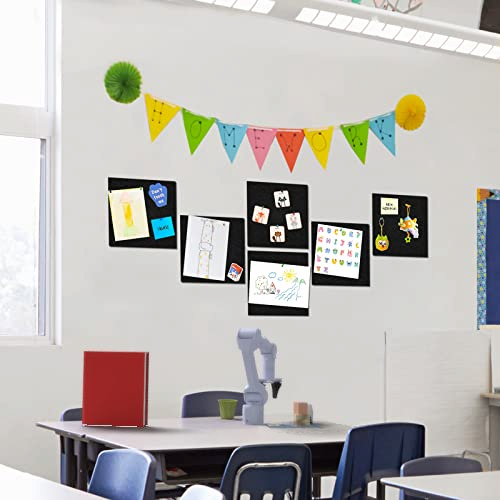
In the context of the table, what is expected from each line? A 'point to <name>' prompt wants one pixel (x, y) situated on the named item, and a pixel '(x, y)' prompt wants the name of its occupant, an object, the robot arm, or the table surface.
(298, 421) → the maple base block
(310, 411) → the small box
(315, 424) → the blueprint mat
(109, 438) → the table surface
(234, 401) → the plant pot
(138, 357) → the book
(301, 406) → the terracotta block
